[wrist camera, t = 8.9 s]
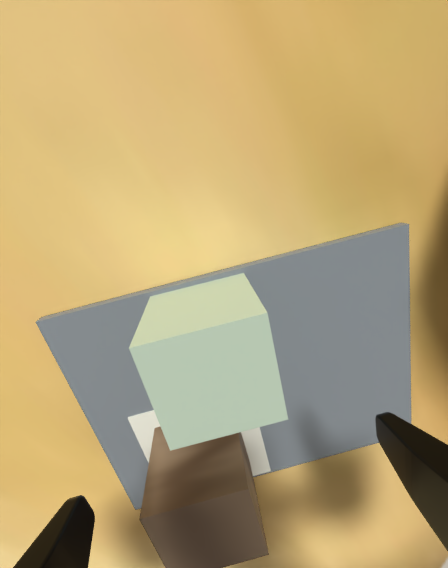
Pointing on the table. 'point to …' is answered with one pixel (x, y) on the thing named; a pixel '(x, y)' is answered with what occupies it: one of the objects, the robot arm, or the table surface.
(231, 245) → the table surface
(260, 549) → the walnut block
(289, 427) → the baseplate
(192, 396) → the sage block
